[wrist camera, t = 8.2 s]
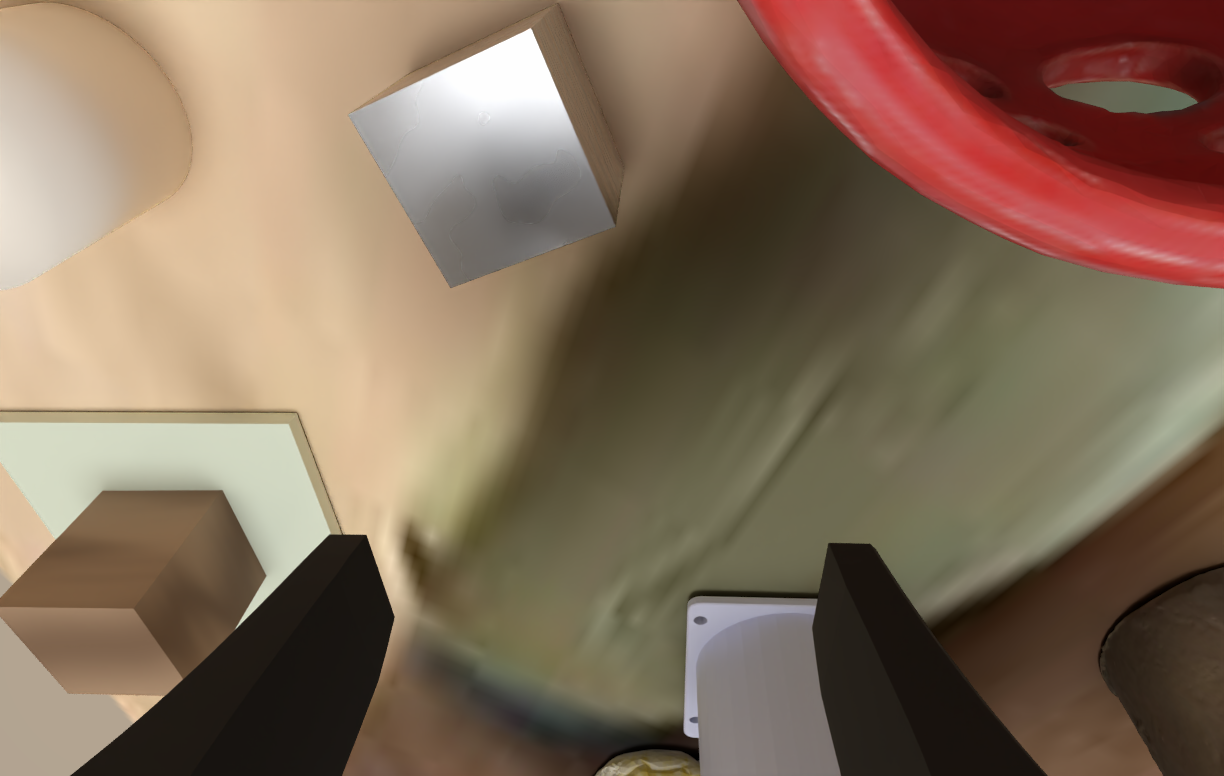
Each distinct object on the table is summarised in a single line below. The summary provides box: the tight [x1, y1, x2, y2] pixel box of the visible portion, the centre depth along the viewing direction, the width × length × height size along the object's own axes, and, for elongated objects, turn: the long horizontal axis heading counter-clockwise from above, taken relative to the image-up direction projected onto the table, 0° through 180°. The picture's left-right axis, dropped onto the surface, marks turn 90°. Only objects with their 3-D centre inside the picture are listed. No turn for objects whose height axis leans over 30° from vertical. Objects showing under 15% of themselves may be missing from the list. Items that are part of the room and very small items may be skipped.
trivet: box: [0, 412, 342, 628], centre depth 26 cm, size 11×11×1 cm
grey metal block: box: [348, 3, 624, 288], centre depth 16 cm, size 4×4×4 cm
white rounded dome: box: [0, 2, 192, 290], centre depth 16 cm, size 5×5×5 cm
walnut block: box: [0, 490, 266, 696], centre depth 24 cm, size 4×4×5 cm
